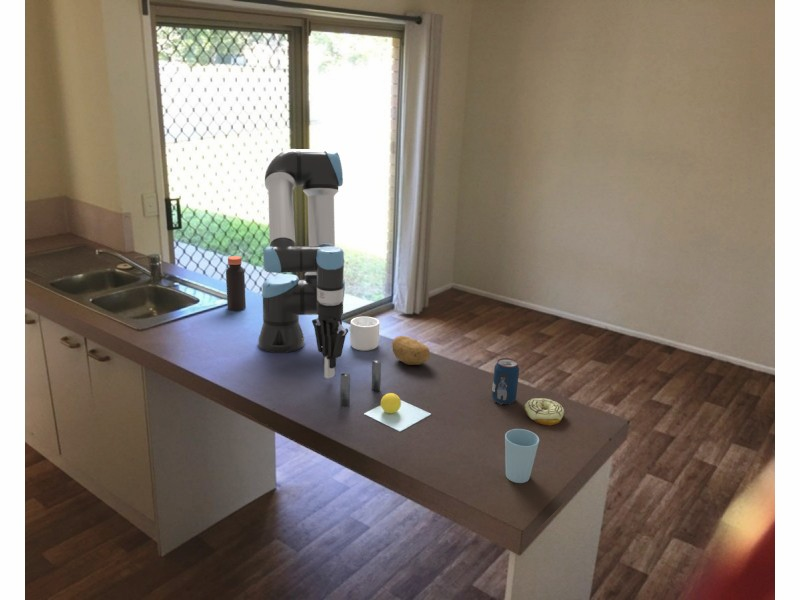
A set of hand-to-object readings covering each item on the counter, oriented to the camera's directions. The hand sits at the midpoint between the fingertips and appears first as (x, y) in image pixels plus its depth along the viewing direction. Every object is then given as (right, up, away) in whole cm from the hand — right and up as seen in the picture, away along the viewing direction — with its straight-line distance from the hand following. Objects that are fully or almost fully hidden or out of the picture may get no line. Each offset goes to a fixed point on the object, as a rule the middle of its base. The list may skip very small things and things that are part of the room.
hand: (329, 376), depth 193 cm
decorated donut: (+60, -10, -13) cm, 63 cm away
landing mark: (+20, -8, -16) cm, 27 cm away
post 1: (+6, -6, -12) cm, 15 cm away
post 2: (+14, -4, -3) cm, 15 cm away
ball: (+18, -5, -16) cm, 25 cm away
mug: (+9, +7, +28) cm, 31 cm away
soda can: (+51, -6, -5) cm, 51 cm away
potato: (+24, +2, +16) cm, 29 cm away
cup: (+48, -19, -41) cm, 66 cm away
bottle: (-42, +19, +57) cm, 73 cm away
